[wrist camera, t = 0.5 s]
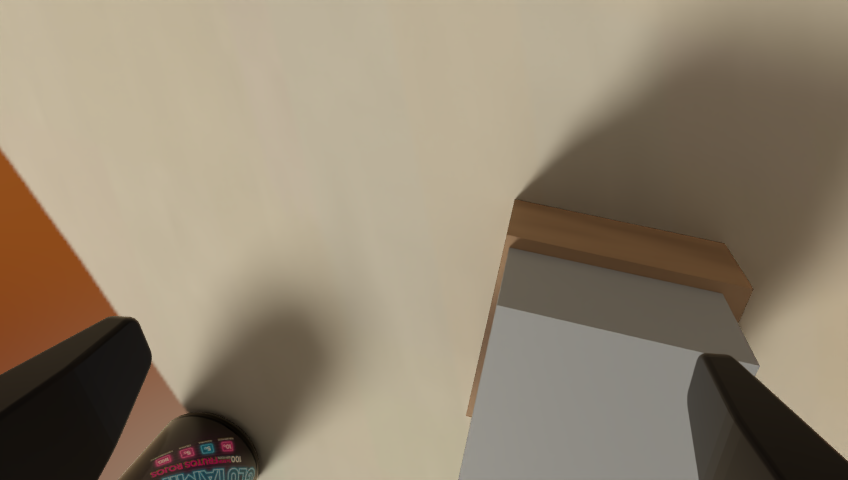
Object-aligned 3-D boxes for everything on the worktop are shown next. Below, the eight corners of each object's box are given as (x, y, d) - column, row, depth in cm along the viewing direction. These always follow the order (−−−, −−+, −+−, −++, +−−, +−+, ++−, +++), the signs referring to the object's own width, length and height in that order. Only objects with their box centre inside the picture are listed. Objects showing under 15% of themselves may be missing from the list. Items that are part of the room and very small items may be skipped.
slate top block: (656, 453, 22) (674, 545, 18) (474, 406, 23) (457, 484, 19) (722, 293, 19) (759, 366, 15) (509, 247, 20) (496, 305, 16)
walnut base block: (657, 403, 26) (672, 470, 22) (478, 358, 27) (465, 415, 23) (722, 240, 22) (753, 289, 19) (515, 196, 23) (506, 234, 20)
